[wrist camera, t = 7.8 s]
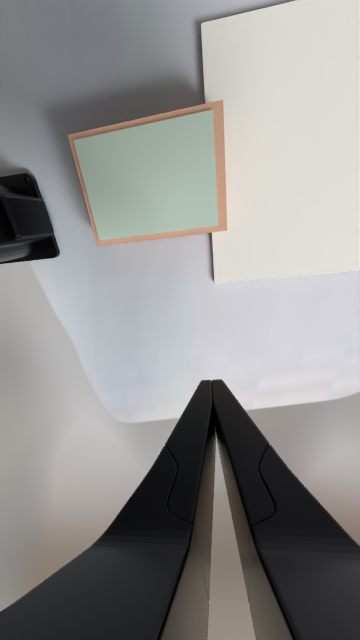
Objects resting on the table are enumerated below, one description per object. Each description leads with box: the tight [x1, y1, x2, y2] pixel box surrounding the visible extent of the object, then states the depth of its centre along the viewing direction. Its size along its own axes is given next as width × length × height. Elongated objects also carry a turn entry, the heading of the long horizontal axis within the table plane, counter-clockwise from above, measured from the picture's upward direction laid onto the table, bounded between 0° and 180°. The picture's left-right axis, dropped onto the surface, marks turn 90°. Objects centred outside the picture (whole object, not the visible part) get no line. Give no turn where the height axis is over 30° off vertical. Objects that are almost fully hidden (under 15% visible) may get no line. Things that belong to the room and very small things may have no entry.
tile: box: [68, 100, 227, 246], centre depth 16 cm, size 3×7×10 cm
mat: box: [201, 0, 360, 284], centre depth 16 cm, size 16×16×1 cm
